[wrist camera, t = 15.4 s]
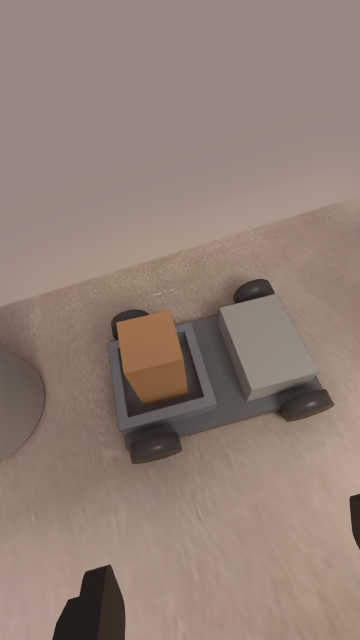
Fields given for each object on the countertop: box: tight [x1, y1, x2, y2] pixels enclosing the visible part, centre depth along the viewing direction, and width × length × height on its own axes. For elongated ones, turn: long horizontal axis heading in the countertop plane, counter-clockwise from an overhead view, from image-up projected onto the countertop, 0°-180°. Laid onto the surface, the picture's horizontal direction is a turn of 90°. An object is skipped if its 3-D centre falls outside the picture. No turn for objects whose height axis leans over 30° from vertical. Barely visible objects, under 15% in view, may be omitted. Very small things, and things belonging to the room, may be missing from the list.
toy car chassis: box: [108, 279, 334, 464], centre depth 33 cm, size 22×16×6 cm
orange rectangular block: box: [116, 310, 188, 406], centre depth 29 cm, size 5×5×10 cm
